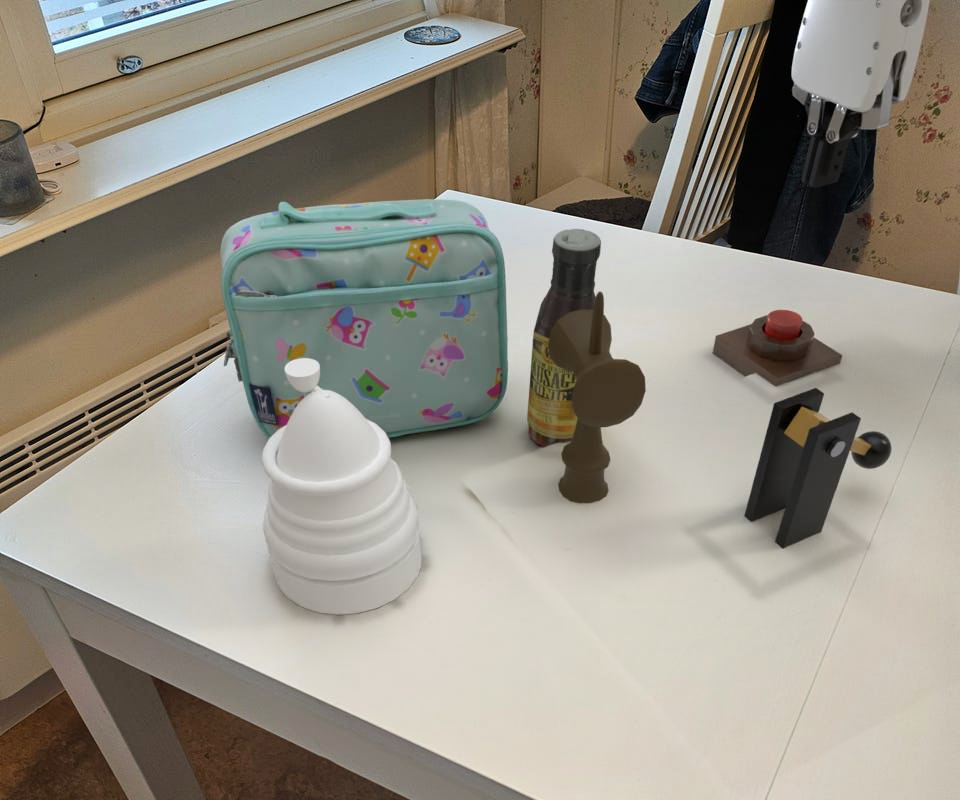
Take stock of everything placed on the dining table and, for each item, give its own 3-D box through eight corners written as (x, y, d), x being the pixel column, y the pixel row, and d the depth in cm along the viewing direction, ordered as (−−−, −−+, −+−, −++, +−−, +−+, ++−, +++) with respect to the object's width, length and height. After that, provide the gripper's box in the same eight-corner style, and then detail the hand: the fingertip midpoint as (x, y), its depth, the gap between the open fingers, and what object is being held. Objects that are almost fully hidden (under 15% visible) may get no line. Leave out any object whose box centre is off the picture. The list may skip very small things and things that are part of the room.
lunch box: (246, 467, 87) (190, 248, 71) (242, 408, 94) (191, 196, 78) (513, 431, 91) (516, 214, 75) (491, 376, 98) (490, 167, 82)
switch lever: (855, 459, 81) (878, 427, 79) (881, 478, 79) (905, 446, 77) (776, 434, 72) (800, 398, 71) (803, 454, 70) (829, 418, 69)
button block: (774, 332, 103) (782, 299, 100) (837, 373, 97) (847, 339, 94) (712, 353, 100) (718, 320, 97) (772, 397, 94) (781, 362, 91)
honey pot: (245, 559, 78) (193, 376, 65) (361, 495, 84) (336, 314, 71) (332, 638, 72) (295, 453, 59) (452, 563, 78) (443, 378, 64)
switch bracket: (795, 485, 84) (833, 363, 75) (866, 541, 79) (916, 416, 69) (693, 527, 80) (719, 404, 71) (760, 589, 75) (798, 464, 66)
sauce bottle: (514, 440, 90) (518, 241, 75) (547, 410, 93) (557, 214, 78) (571, 462, 87) (586, 261, 72) (603, 430, 91) (624, 232, 76)
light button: (782, 321, 98) (786, 306, 96) (805, 336, 95) (810, 320, 94) (756, 330, 96) (760, 314, 95) (779, 345, 94) (783, 329, 93)
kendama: (564, 535, 80) (579, 327, 65) (538, 471, 86) (546, 267, 71) (629, 526, 81) (658, 318, 66) (598, 462, 87) (618, 259, 72)
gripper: (992, -50, 68) (908, 202, 81) (848, -83, 76) (794, 148, 90) (920, -37, 65) (847, 220, 79) (780, -73, 74) (735, 163, 88)
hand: (819, 181), depth 84 cm, fingers closed
